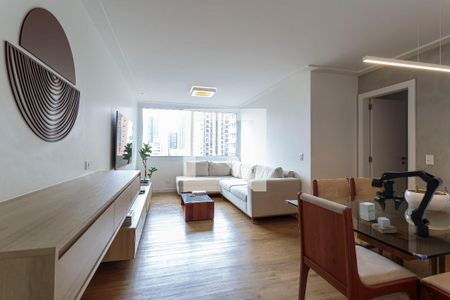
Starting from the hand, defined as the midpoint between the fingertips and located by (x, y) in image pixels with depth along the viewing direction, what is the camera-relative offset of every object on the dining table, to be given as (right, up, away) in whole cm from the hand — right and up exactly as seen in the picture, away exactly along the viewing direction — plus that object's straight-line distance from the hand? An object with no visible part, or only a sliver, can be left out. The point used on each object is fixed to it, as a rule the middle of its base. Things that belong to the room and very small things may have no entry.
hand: (390, 210), depth 159 cm
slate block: (-7, -9, -4) cm, 12 cm away
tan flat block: (-7, -12, -4) cm, 15 cm away
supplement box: (-3, -12, +19) cm, 23 cm away
